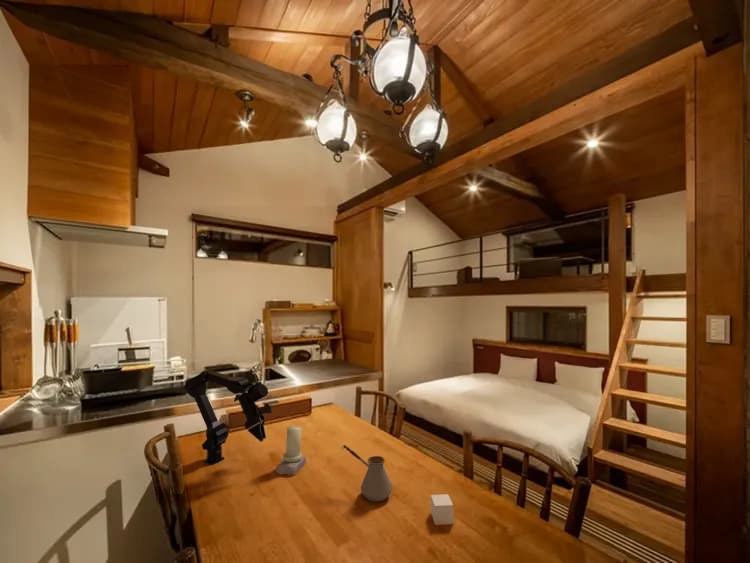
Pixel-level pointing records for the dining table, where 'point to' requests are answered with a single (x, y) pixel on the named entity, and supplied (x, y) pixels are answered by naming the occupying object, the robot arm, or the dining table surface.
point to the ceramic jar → (293, 444)
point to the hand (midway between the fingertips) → (263, 439)
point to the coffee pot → (374, 478)
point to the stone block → (290, 467)
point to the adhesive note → (441, 509)
